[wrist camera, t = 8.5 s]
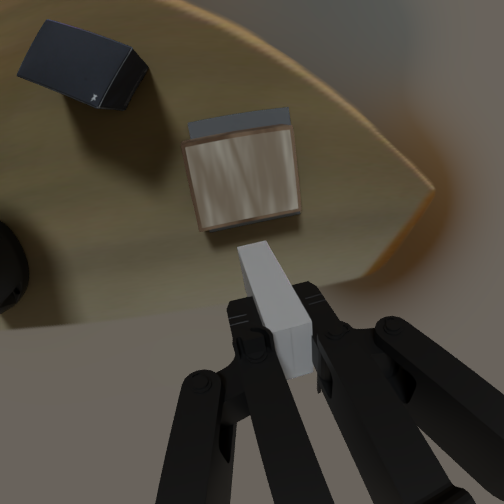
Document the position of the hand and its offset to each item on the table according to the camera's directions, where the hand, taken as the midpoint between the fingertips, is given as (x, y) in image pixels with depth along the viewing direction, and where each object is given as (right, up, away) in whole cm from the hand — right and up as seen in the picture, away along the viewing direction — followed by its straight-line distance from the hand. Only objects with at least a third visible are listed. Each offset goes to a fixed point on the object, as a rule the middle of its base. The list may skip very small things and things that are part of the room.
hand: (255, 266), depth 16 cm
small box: (-18, +22, +11) cm, 30 cm away
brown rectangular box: (-7, +8, +17) cm, 20 cm away
